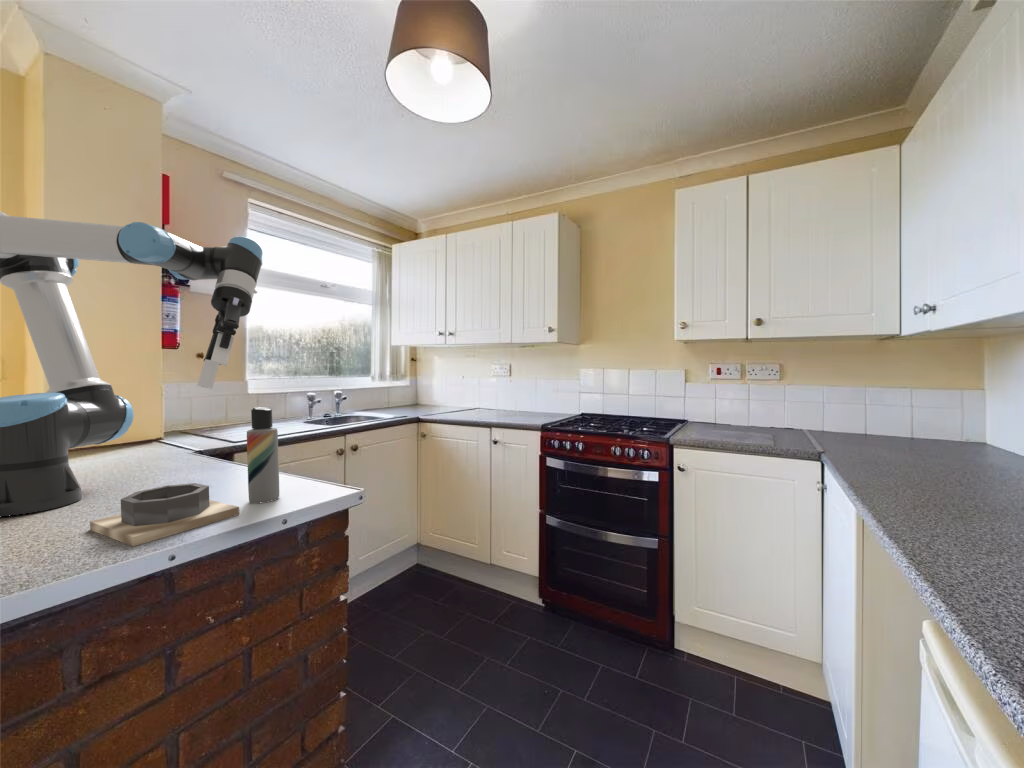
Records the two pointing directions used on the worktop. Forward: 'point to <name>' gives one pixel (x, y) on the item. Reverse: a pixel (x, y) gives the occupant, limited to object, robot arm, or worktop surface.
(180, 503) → the holder
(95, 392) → the robot arm
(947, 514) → the worktop surface
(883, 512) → the worktop surface
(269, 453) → the lotion bottle
